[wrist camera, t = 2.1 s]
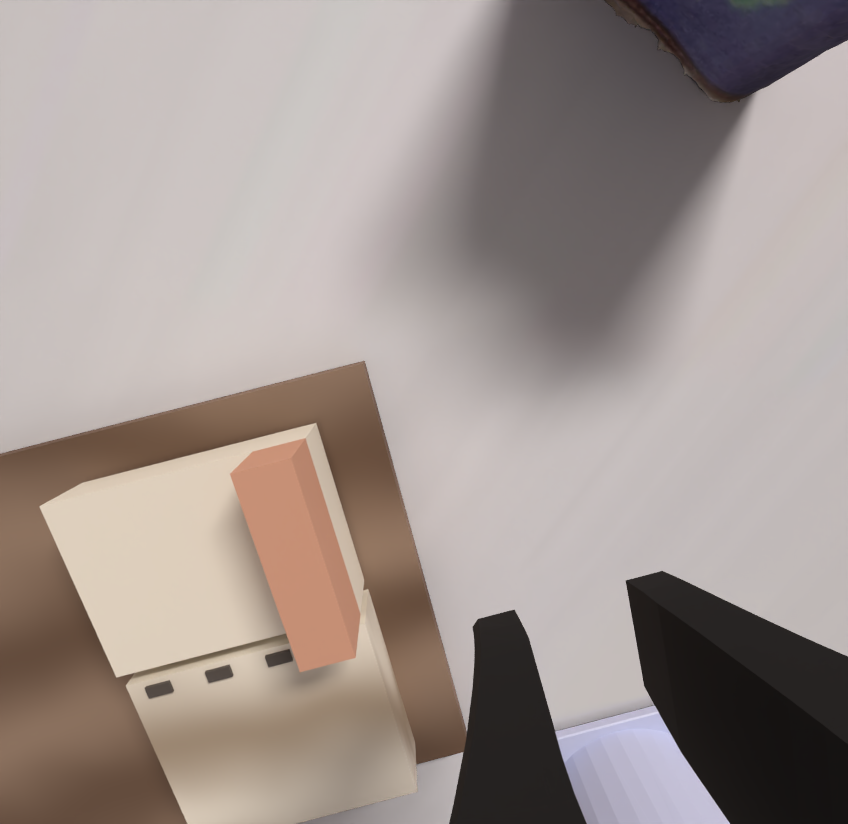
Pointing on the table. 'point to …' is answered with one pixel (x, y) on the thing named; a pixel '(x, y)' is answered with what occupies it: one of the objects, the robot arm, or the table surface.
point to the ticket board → (62, 647)
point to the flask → (739, 38)
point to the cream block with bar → (215, 554)
